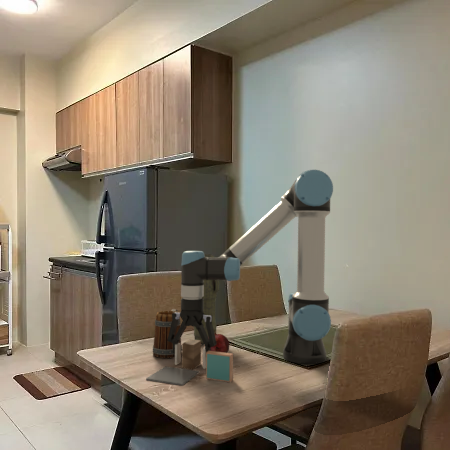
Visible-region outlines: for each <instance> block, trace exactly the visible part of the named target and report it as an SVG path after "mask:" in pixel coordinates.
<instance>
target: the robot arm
mask: <svg viewBox="0 0 450 450" xmlns="http://www.w3.org/2000/svg"><path fill="white" fill-rule="evenodd" d="M333 184H334V183H333V181H332V179H331V178H330V176H329V175H328V174H327V173H326V172H324V171H323V170H320V169H309V170H306V171H302V172H301V173H300V174H299V175H298V176H297V178H296V180H295V181H294V182H293V183H292V185H291V187H289V189H287V191H286V192H285V193H284V194H283V195H282V196H281V198H280V201H279V202H278V203H277V204H276V205H275V206H274V207H273V208H271V209H270V210H269V211H268V212H267V213H266V214H265V215H264V216H262V218H261V219H259V220H258V221H257V222H256V223H255V224H254V225H253V226H252V227H251V228H250V229H249V230H247V231H246V232H245V233H244V234H242V236H241V237H240V238H239V239H237V240H236V241H235V242H234V243H233V244H232V245H231V246H229V248H228V249H226V250H225V251H224V252H223V253H222V254H221V255H219V256H218V257H214V258H209V257H205V255H204V254H205V252H204V251H202V250H186V251H183V253H182V254H181V264H180V266H181V267H180V270H181V271H180V272H181V278H180V279H181V283H180V297H181V299H180V311H178V312H179V313H178V312H175V313H173V314H172V324H171V328H170V332H169V336H168V342H171V343H172V344H173V354H175V358H174V365H176V366H177V365H179V364H180V363H181V361H182V357H181V356H182V353H181V345H182V342H181V343H178V342H179V340H180V338H181V339H182V336H183V334H184V332H185V330H186V328H187V327H193V328H194V327H196V329H197V330H198V332H199V334H200V336H201V339H202V341H203V343H204V344H203V348H202V369H205V370H206V352H208V351H211V347H214V346H215V345H216V344H217V343H216V338H215V334H214V329H213V324H212V318H213V317H212V315H210V316H208V315H204V312H203V309H204V299H203V298H202V297H203V296H204V280H215V281H216V280H219V281H228V282H231V281H232V282H233V281H238V280H240V279H241V266H243V264H244V263H246V262H247V261H248V260H249V259H250V258H251V257H252V256H253V255H255V254H256V253H257V252H258V251H259V250H261V248H262V247H264V245H266V244H267V243H268V242H269V241H270V240H271V239H272V238H274V237H275V236H276V235H277V234H278V233H279V232H280V231H281V230H282V229H284V228H285V227H286V226H287V225H288V224H289V223H290V222H291V221H293V219H295V218H297V219H298V220H297V221H298V223H297V224H298V225H297V228H298V229H297V276H296V277H297V278H296V279H297V281H296V282H297V283H296V285H297V286H296V287H297V288H296V289H297V290H296V291H295V292H291V293H289V295H288V320H287V321H288V322H287V324H288V327H287V328H288V329H287V330H288V331H287V332H288V333H287V334H288V335H287V338H286V341H285V342H284V346H283V350H282V357H283V359H284V360H287V361H289V362H292V363H295V364H296V363H297V364H304V365H305V364H306V365H310V364H311V365H312V364H314V365H315V364H321V363H324V362H325V361H327V351H326V350H327V349H326V347H325V344H324V340H323V339H324V338H325V337H326V336H327V334H328V333H329V331H330V330H331V326H332V319H331V316H330V311H329V307H330V305H329V304H330V301H329V299H330V298H329V295H327V293H325V257H326V256H325V254H326V253H325V251H326V250H325V249H326V245H325V244H326V218H327V216H328V215H329V214H330V213H331V198H332V196H333V192H334V185H333ZM179 318H180V319H181V320H182V321H181V322H180V328H179V330H178V332H177V334H176V336H175V333H176V329H177V325H178V321H179ZM203 318H204V320H205V322H206V327H207V332H208V336H207V333H206V331H205V329H204V327H203V326H204V325H203V323H202V320H203ZM174 337H175V338H174ZM208 337H209V338H208ZM204 345H205V347H204Z"/></svg>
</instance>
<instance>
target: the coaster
mask: <svg viewBox="0 0 450 450" xmlns="http://www.w3.org/2000/svg"><path fill="white" fill-rule="evenodd" d="M199 373H200V371H199V370H195V369H194V370H192V369H185V368H182V367H174V366H173V367H171V366H164V367H163V368H159V370H157V371H156V372H153V373H152V374H151V375H149V376H147V377H146V381H151V382H156V383H157V382H158V383H162V384H163V383H165V384H171V385H176V386H184V385H185V384H186V383H188V382H189V381H190V380H192V379H193V378H194V377H195V376H197V375H198V374H199Z"/></svg>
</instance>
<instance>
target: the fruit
mask: <svg viewBox="0 0 450 450" xmlns="http://www.w3.org/2000/svg"><path fill="white" fill-rule="evenodd" d="M214 332H215V333H214V334H215V338H216V343H217V344H216V345H215V346H214V347H211V351H215V352H224V353H229V350H230V341H229V339H228V338H227V337H226V335H224V334H222V333H217V330H216V331H215V330H214ZM208 338H209V337H208ZM204 347H205V345H204V344H203V348H204Z"/></svg>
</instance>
